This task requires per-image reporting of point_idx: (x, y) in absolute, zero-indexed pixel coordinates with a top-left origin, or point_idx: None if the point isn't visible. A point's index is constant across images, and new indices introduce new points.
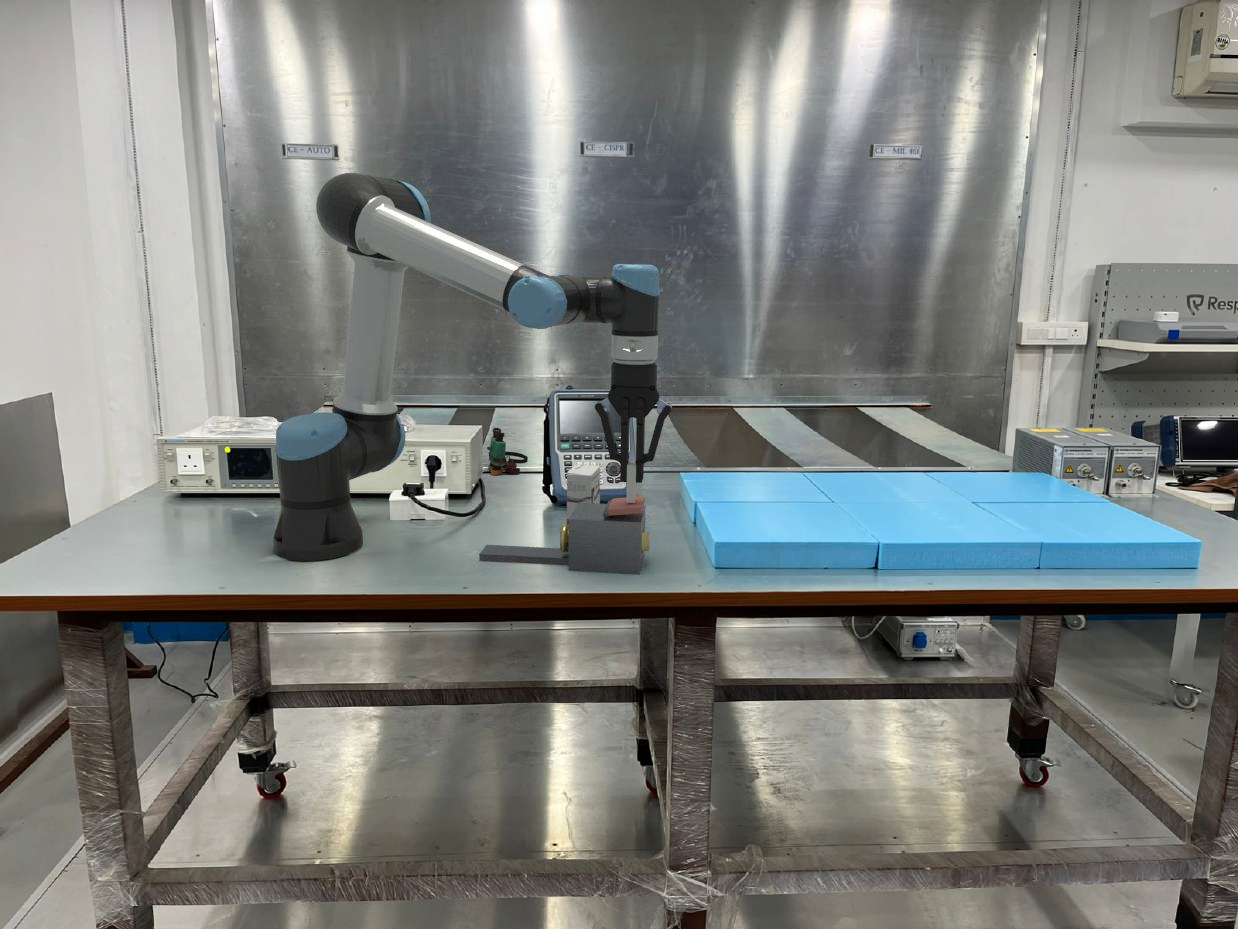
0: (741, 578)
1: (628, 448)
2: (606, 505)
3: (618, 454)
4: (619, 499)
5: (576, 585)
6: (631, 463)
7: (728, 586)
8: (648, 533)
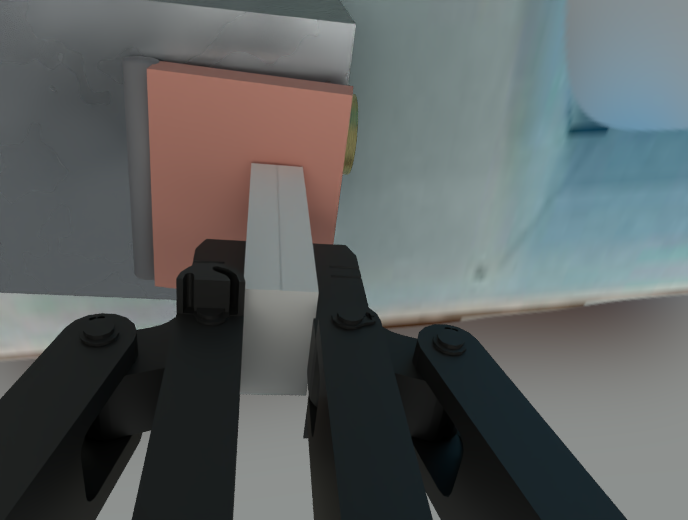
0: (620, 212)
1: (237, 433)
2: (115, 34)
3: (150, 426)
4: (197, 112)
5: (113, 298)
6: (270, 350)
7: (559, 272)
8: (352, 152)
